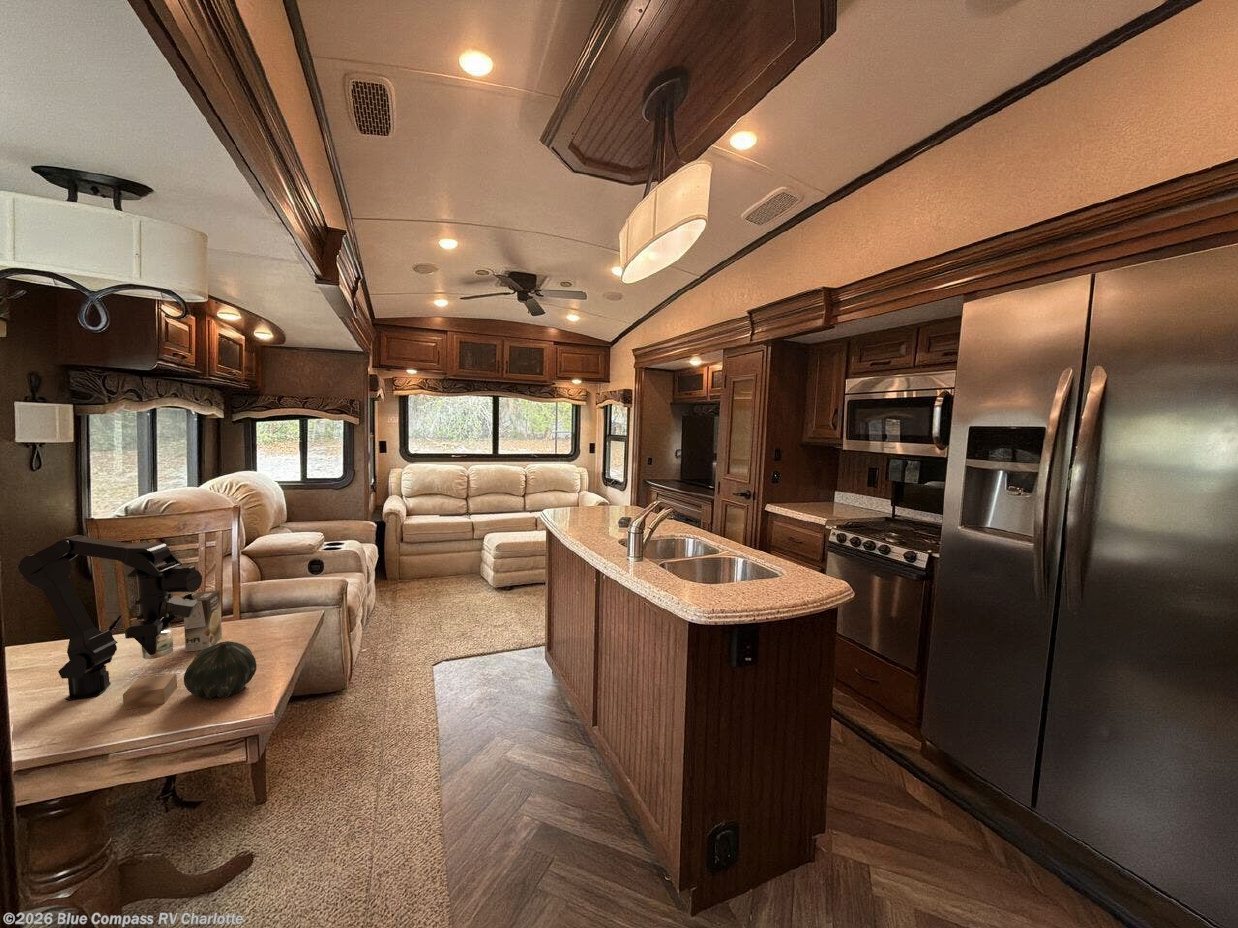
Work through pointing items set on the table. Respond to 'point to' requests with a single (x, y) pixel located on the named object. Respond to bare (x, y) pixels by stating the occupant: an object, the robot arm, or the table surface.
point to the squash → (220, 670)
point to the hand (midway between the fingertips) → (157, 649)
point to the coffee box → (204, 622)
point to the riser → (150, 691)
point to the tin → (161, 645)
